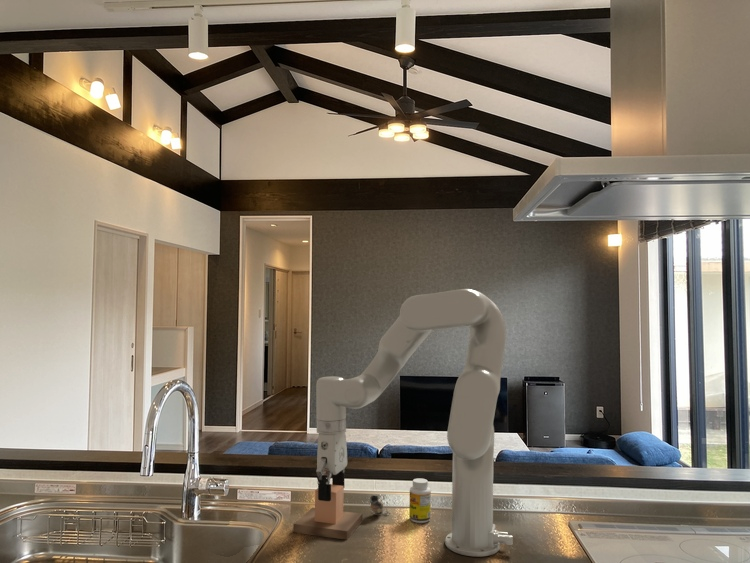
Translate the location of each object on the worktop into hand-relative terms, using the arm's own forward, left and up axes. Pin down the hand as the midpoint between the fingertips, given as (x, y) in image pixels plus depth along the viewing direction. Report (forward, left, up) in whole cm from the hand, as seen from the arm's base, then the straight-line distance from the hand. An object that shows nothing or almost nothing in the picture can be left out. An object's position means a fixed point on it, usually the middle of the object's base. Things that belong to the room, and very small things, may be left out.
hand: (331, 494), depth 140 cm
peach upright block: (+1, 0, -6) cm, 6 cm away
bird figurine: (-9, -11, -8) cm, 16 cm away
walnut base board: (+1, 0, -8) cm, 8 cm away
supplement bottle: (-20, -12, -8) cm, 25 cm away
